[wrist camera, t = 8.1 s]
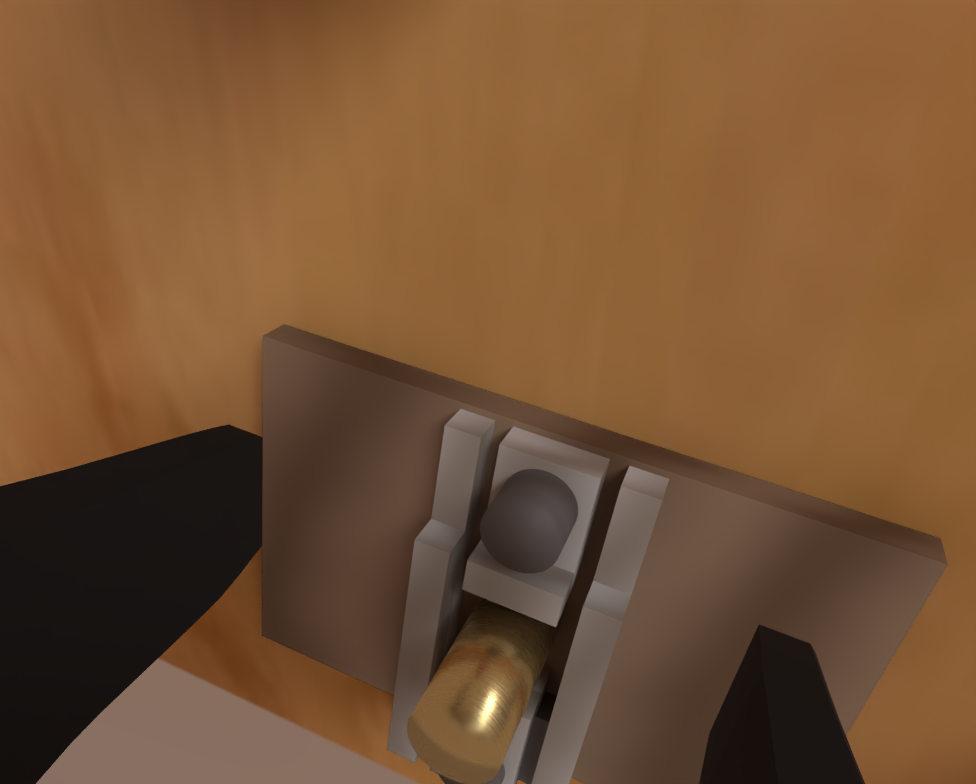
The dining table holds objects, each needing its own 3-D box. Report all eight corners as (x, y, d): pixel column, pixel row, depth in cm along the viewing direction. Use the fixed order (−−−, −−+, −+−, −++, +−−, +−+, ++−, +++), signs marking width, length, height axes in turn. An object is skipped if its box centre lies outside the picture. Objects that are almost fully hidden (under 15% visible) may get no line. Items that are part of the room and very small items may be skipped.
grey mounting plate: (940, 538, 17) (968, 641, 14) (769, 837, 23) (763, 954, 20) (283, 324, 22) (201, 368, 19) (278, 617, 27) (214, 686, 24)
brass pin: (577, 631, 21) (519, 779, 17) (510, 647, 22) (440, 788, 18) (535, 564, 20) (465, 698, 16) (469, 584, 22) (388, 713, 18)
